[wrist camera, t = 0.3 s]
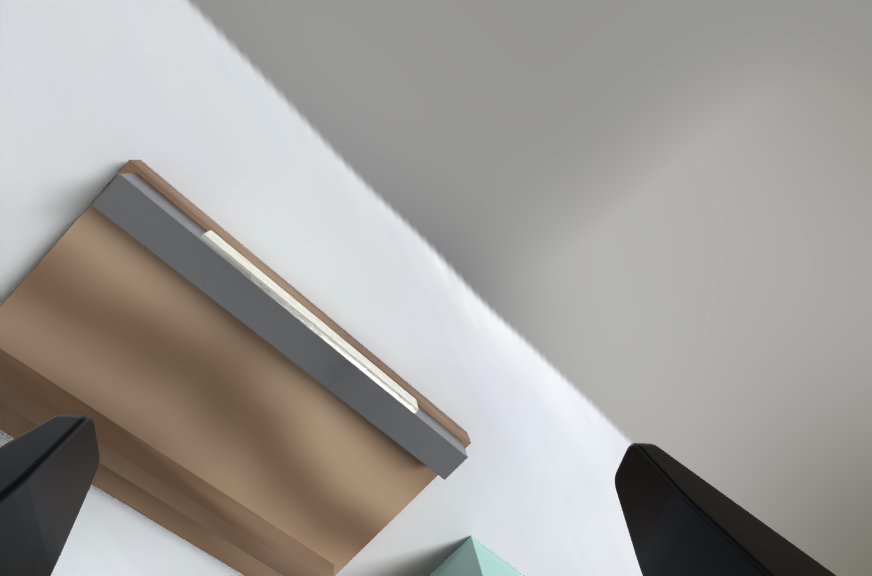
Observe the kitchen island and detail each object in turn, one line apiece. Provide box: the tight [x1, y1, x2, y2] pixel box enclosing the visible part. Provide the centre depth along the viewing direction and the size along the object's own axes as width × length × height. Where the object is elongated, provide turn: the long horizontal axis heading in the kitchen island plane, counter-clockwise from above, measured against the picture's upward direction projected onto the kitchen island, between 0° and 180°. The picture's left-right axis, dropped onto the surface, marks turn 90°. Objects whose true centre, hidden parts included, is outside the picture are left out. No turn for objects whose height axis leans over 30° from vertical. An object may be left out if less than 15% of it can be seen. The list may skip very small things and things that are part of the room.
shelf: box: [0, 160, 471, 576], centre depth 22 cm, size 13×20×2 cm, turn 45°
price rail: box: [92, 173, 467, 480], centre depth 21 cm, size 2×19×2 cm, turn 45°
